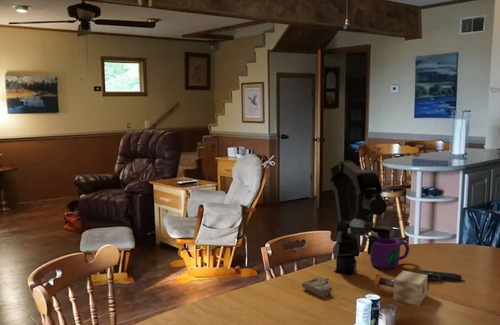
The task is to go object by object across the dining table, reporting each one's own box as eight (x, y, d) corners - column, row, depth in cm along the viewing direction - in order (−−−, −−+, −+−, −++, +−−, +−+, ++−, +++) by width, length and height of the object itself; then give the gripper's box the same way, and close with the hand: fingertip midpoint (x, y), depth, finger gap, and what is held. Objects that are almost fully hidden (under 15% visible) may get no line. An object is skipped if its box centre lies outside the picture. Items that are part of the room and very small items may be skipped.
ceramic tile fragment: (336, 288, 157) (306, 289, 156) (336, 298, 157) (306, 299, 156) (327, 276, 169) (299, 277, 168) (327, 285, 169) (299, 286, 168)
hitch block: (393, 300, 155) (394, 279, 154) (402, 289, 164) (402, 270, 163) (419, 305, 151) (420, 284, 150) (426, 294, 159) (427, 275, 159)
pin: (374, 288, 161) (374, 276, 161) (378, 284, 165) (379, 272, 164) (411, 296, 155) (412, 283, 154) (415, 291, 158) (415, 279, 158)
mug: (381, 272, 181) (381, 246, 180) (363, 262, 192) (364, 238, 190) (418, 266, 187) (419, 241, 186) (399, 257, 198) (400, 233, 197)
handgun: (468, 286, 163) (461, 272, 174) (411, 280, 167) (408, 266, 178) (467, 294, 163) (460, 280, 175) (411, 288, 167) (407, 274, 179)
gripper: (329, 210, 161) (328, 255, 163) (385, 217, 151) (383, 265, 153) (342, 204, 170) (341, 247, 172) (395, 210, 160) (393, 255, 162)
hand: (363, 253), depth 164 cm, fingers open, 3 cm apart
